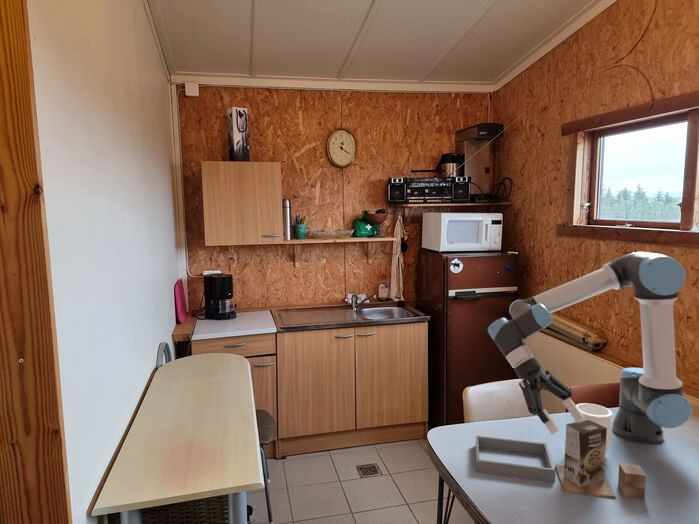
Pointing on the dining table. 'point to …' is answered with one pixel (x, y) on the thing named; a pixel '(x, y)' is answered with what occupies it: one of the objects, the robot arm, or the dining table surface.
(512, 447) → the frame
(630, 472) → the walnut block
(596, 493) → the cork mat
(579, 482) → the cookie box
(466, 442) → the dining table surface
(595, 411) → the jar
